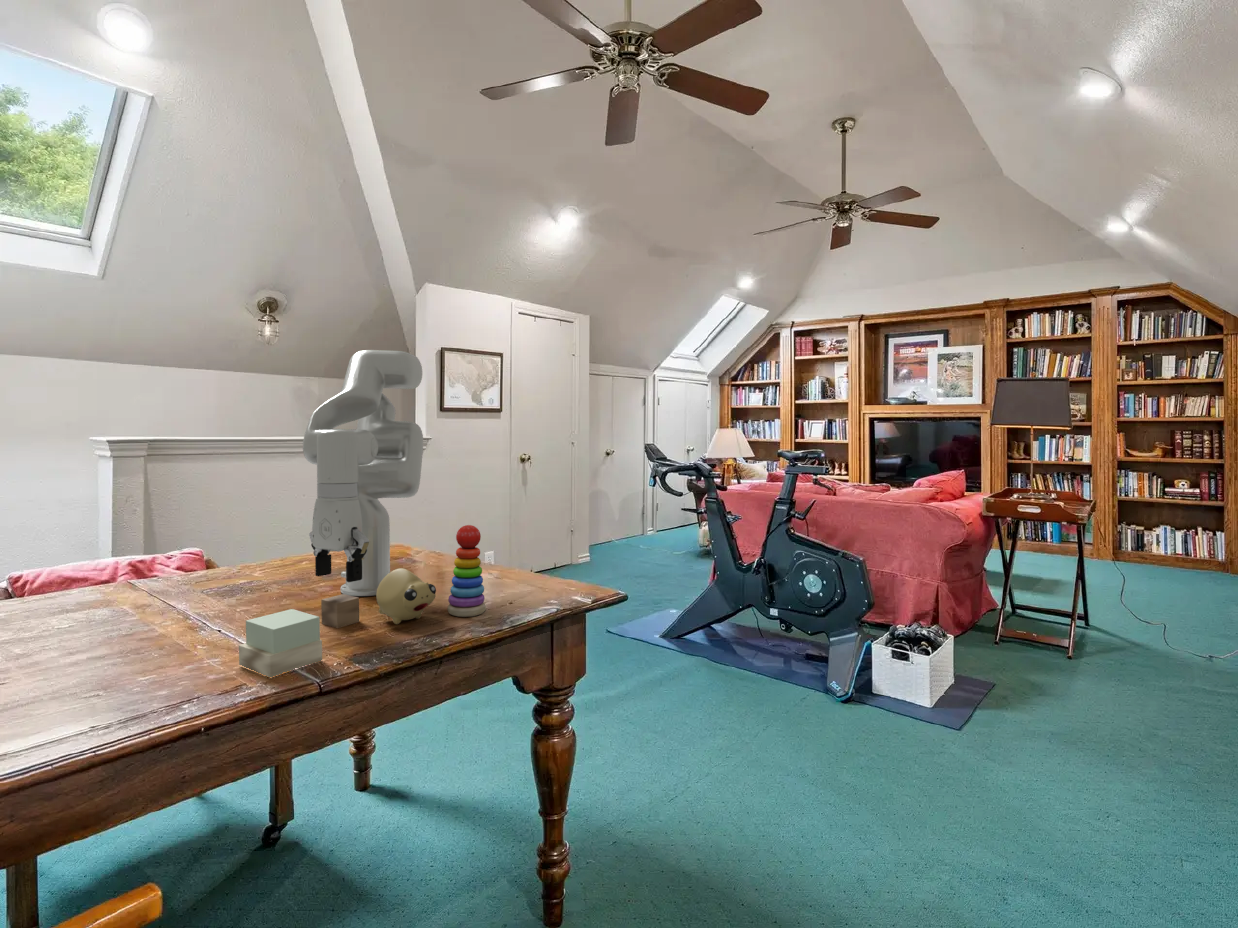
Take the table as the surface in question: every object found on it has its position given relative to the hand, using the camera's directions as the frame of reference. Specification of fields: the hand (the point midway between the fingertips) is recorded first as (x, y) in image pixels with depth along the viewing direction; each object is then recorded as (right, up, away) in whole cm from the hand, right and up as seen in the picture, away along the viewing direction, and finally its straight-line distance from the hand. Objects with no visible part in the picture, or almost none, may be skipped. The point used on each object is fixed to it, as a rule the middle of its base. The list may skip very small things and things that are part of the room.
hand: (338, 577), depth 129 cm
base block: (-1, -11, -20) cm, 23 cm away
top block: (0, -7, -20) cm, 21 cm away
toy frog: (+12, -10, +3) cm, 16 cm away
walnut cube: (0, -9, +2) cm, 9 cm away
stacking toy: (+23, -9, +9) cm, 27 cm away
